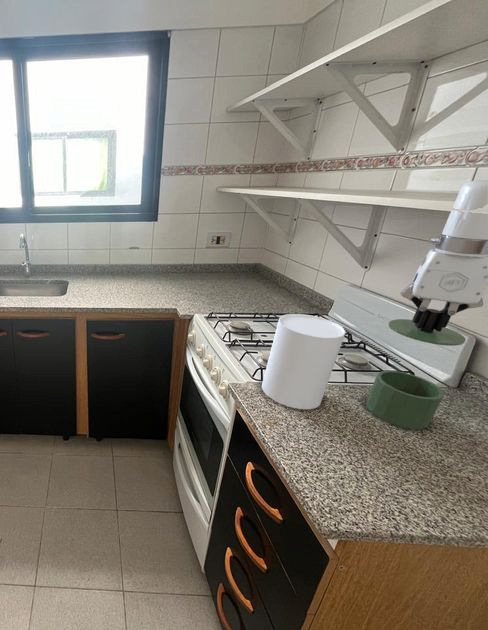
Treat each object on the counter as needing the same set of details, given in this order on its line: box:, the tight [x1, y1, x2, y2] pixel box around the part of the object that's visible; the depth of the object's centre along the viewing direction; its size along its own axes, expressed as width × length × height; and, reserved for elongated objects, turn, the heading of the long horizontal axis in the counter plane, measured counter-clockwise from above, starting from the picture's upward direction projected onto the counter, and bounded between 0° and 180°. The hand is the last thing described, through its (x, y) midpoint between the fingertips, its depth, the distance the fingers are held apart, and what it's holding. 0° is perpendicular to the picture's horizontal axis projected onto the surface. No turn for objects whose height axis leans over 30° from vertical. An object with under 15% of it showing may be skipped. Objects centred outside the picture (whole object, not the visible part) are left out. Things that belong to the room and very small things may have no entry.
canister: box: [261, 313, 346, 410], centre depth 88 cm, size 14×14×20 cm
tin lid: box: [388, 308, 467, 347], centre depth 76 cm, size 12×12×6 cm
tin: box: [365, 369, 445, 430], centre depth 82 cm, size 11×11×8 cm
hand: (427, 327), depth 77 cm, fingers closed on tin lid, 2 cm apart
